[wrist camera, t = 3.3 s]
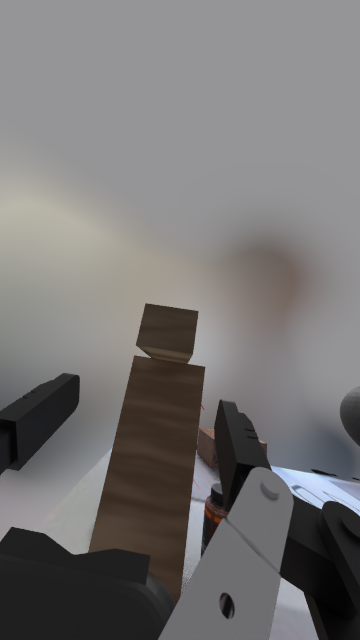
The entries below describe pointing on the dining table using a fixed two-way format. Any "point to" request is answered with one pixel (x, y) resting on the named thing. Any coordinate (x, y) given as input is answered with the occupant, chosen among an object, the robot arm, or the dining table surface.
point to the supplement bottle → (212, 515)
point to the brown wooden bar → (167, 333)
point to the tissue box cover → (212, 447)
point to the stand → (153, 468)
